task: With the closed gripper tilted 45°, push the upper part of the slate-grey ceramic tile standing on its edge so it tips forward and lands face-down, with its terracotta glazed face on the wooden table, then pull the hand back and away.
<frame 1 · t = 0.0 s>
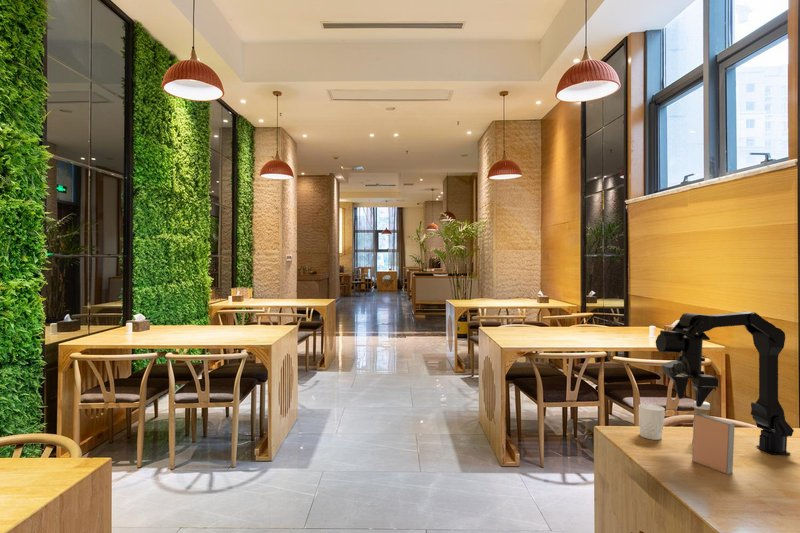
hand: (689, 402, 158), 15 cm above the table, tool pointing down, fingers open, 9 cm apart
white cup: (650, 437, 169), on the table
sprinkles bottle: (700, 443, 164), on the table
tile: (711, 466, 144), on the table
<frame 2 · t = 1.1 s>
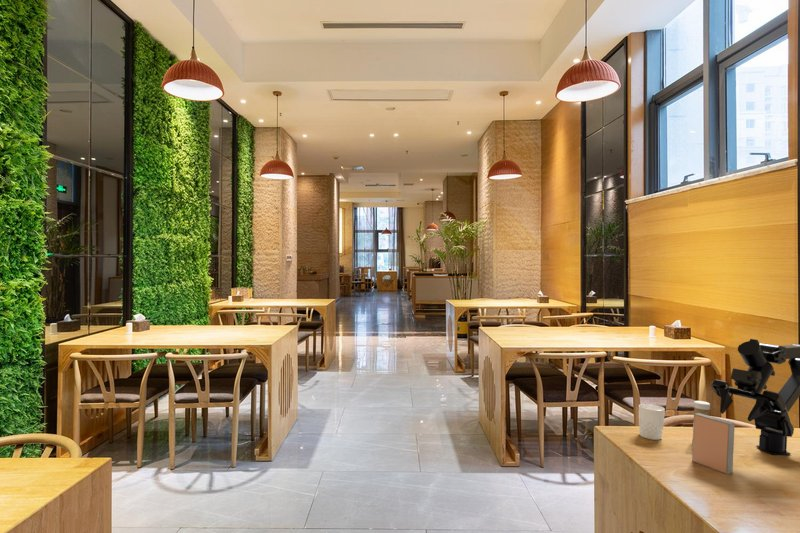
hand: (734, 416, 149), 13 cm above the table, tool tilted 45°, fingers open, 7 cm apart
nothing on the table moved.
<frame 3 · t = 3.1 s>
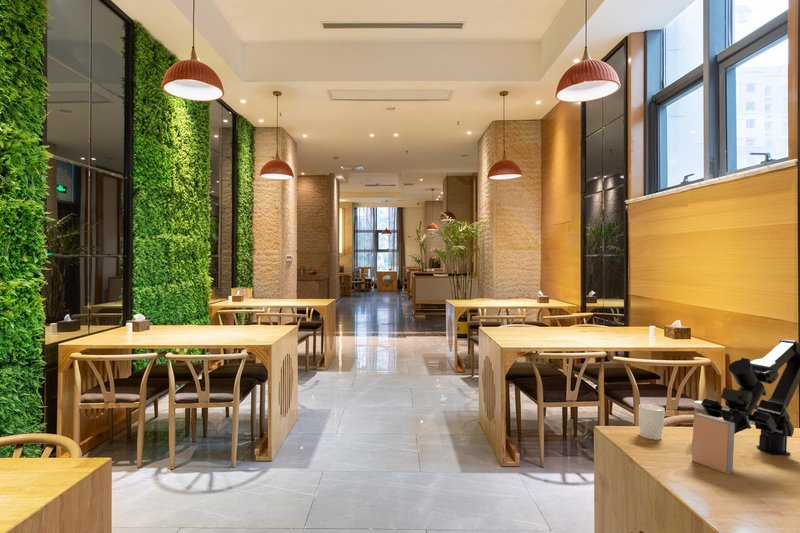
hand: (724, 436, 146), 8 cm above the table, tool tilted 45°, fingers closed
nothing on the table moved.
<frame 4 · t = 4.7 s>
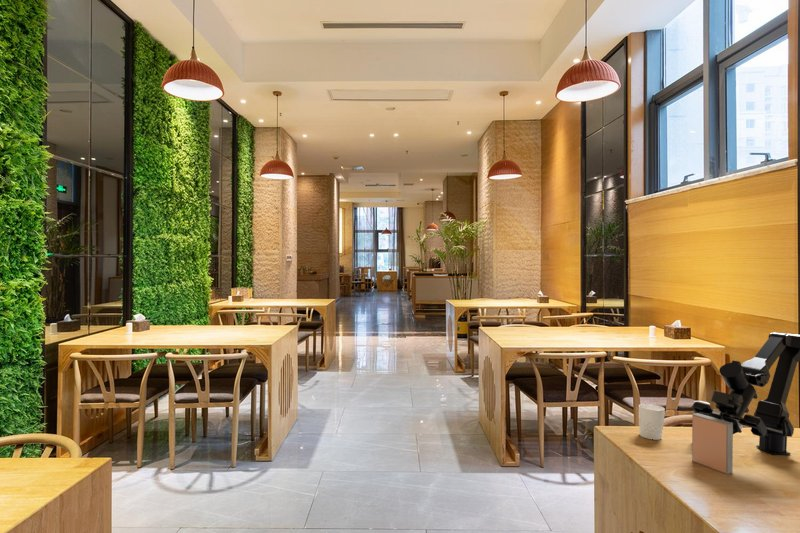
hand: (714, 440, 144), 7 cm above the table, tool tilted 45°, fingers closed, pressing on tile
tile: (711, 466, 144), on the table, touching gripper
everything else where it was.
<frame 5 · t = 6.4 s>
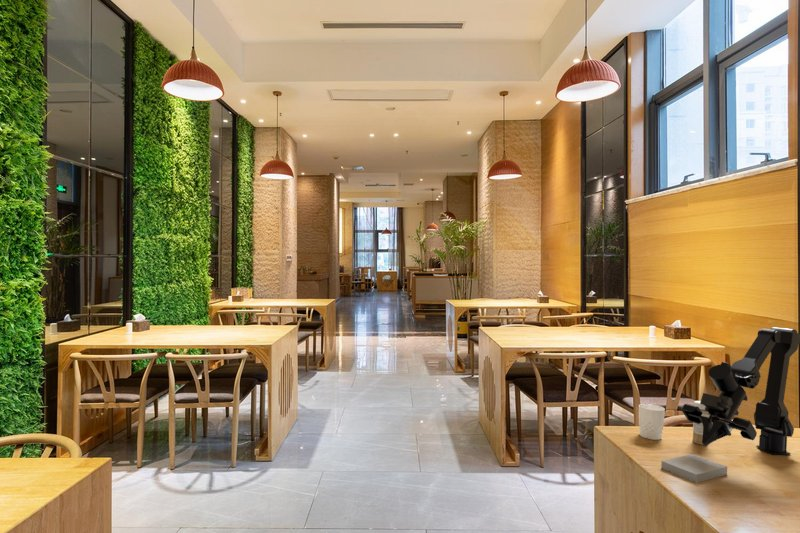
hand: (704, 444, 142), 7 cm above the table, tool tilted 45°, fingers closed
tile: (708, 464, 143), point 1 cm above the table, tilted 90°
everything else where it was.
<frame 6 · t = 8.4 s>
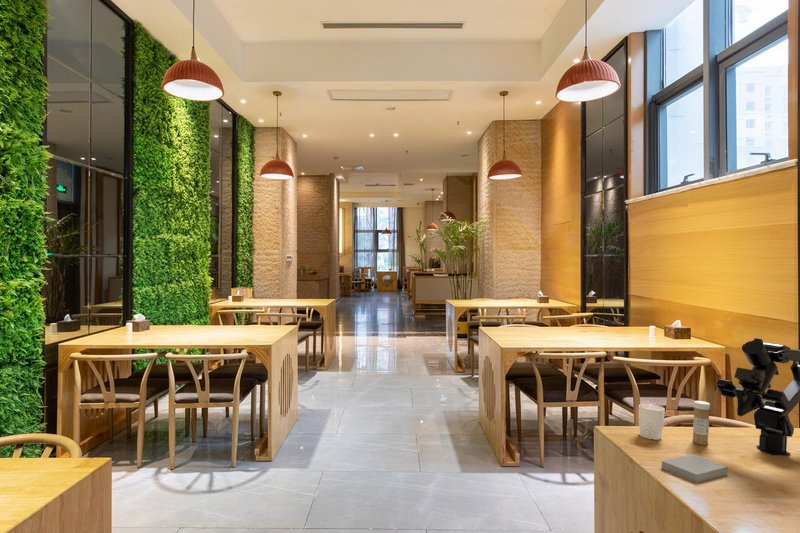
hand: (739, 415, 150), 14 cm above the table, tool tilted 45°, fingers closed
nothing on the table moved.
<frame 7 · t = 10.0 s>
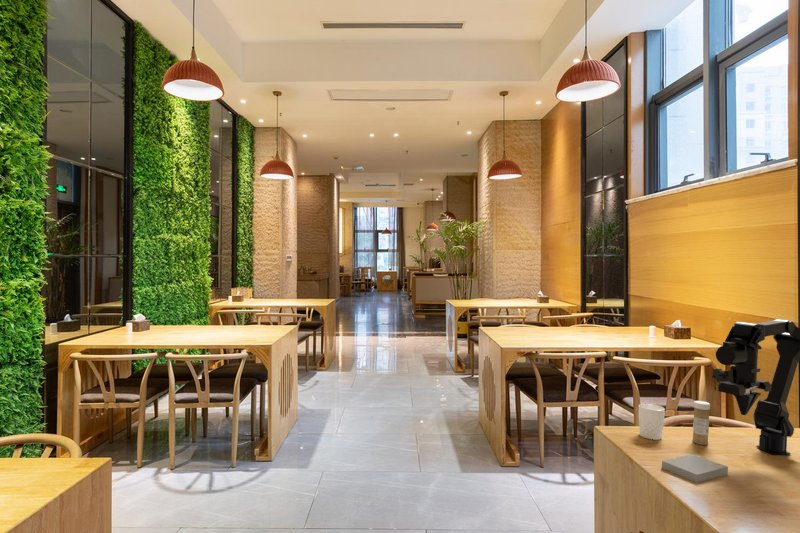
hand: (743, 414, 152), 13 cm above the table, tool pointing down, fingers closed
nothing on the table moved.
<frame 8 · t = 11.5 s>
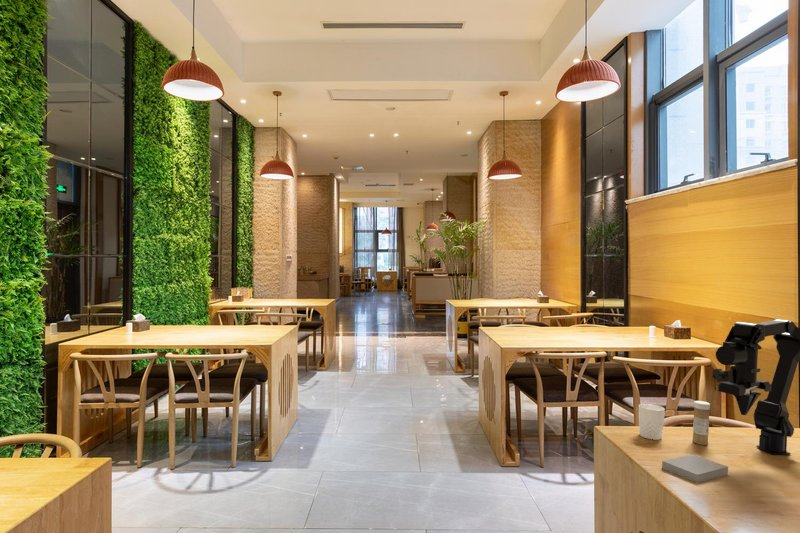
hand: (743, 414, 152), 13 cm above the table, tool pointing down, fingers closed
nothing on the table moved.
at the end: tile tilted 90°; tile inside the target area (0.9 cm from its centre), point 0.9 cm above the table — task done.
